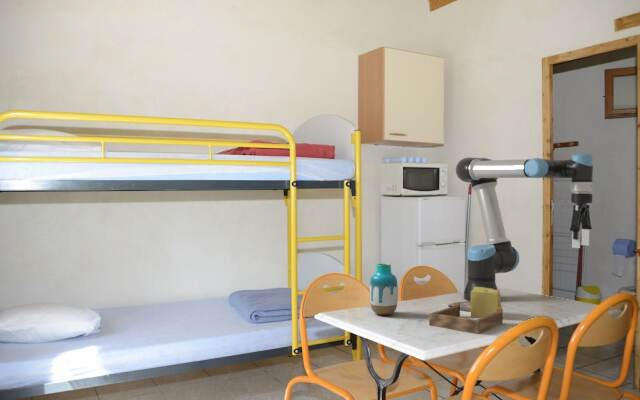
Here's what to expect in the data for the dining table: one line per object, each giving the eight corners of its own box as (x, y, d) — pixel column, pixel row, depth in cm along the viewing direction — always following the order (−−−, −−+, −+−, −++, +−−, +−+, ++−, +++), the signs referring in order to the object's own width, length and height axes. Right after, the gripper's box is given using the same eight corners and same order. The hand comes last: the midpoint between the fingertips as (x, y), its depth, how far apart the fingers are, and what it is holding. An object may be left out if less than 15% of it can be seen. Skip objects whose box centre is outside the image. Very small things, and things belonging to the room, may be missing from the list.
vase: (378, 310, 211) (378, 262, 211) (402, 313, 205) (402, 264, 205) (364, 315, 203) (364, 264, 203) (389, 318, 197) (389, 266, 197)
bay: (429, 325, 187) (429, 310, 187) (456, 315, 201) (456, 302, 201) (477, 333, 175) (477, 317, 175) (502, 323, 189) (502, 308, 189)
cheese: (501, 314, 204) (501, 288, 204) (498, 320, 195) (498, 292, 194) (473, 311, 209) (473, 286, 209) (469, 317, 199) (469, 290, 199)
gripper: (583, 193, 199) (582, 249, 199) (599, 193, 218) (598, 244, 218) (562, 192, 204) (561, 248, 204) (580, 192, 223) (579, 243, 223)
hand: (580, 246), depth 211 cm, fingers open, 13 cm apart
